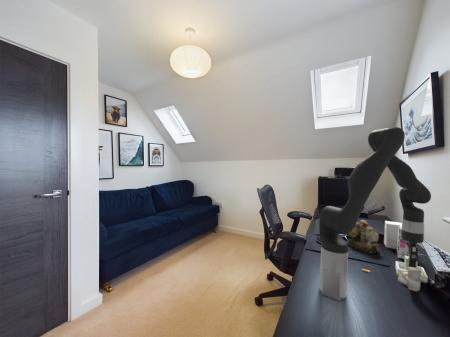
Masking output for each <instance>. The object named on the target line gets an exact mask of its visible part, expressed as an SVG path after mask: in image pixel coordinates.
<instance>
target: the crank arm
mask: <svg viewBox="0 0 450 337" xmlns="http://www.w3.org/2000/svg"><path fill="white" fill-rule="evenodd" d="M401 276H402V277H403V278H405V279H406V281H407V286H406V287H408V289H409V290H410V291H413V292H416V293H417V292H418V291H420V290H421V283H420V278H421V271H420V270H419V269H416V268H413V267H408V272H402V273H401Z"/></svg>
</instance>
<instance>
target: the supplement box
mask: <svg viewBox="0 0 450 337" xmlns="http://www.w3.org/2000/svg"><path fill="white" fill-rule="evenodd" d="M399 225H402V222H397V221H391V220H390V221H389V220H384V233H383V234H384V237H383V244H384V245H385V248H387V249H393V250H397V240H398V226H399Z"/></svg>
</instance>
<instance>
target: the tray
mask: <svg viewBox="0 0 450 337" xmlns="http://www.w3.org/2000/svg"><path fill="white" fill-rule="evenodd" d="M394 268H395V272H396V276H398V275H399V274H401V273H402V272H408V271H406V270H404V262H402V261H397V260H395V267H394ZM417 269H419V270H420V271H421V278H420V282H421V283H424V284H428V278H429V276H428V275H427V272H426V270H425V269H424V267H422V266H418V265H417Z"/></svg>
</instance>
